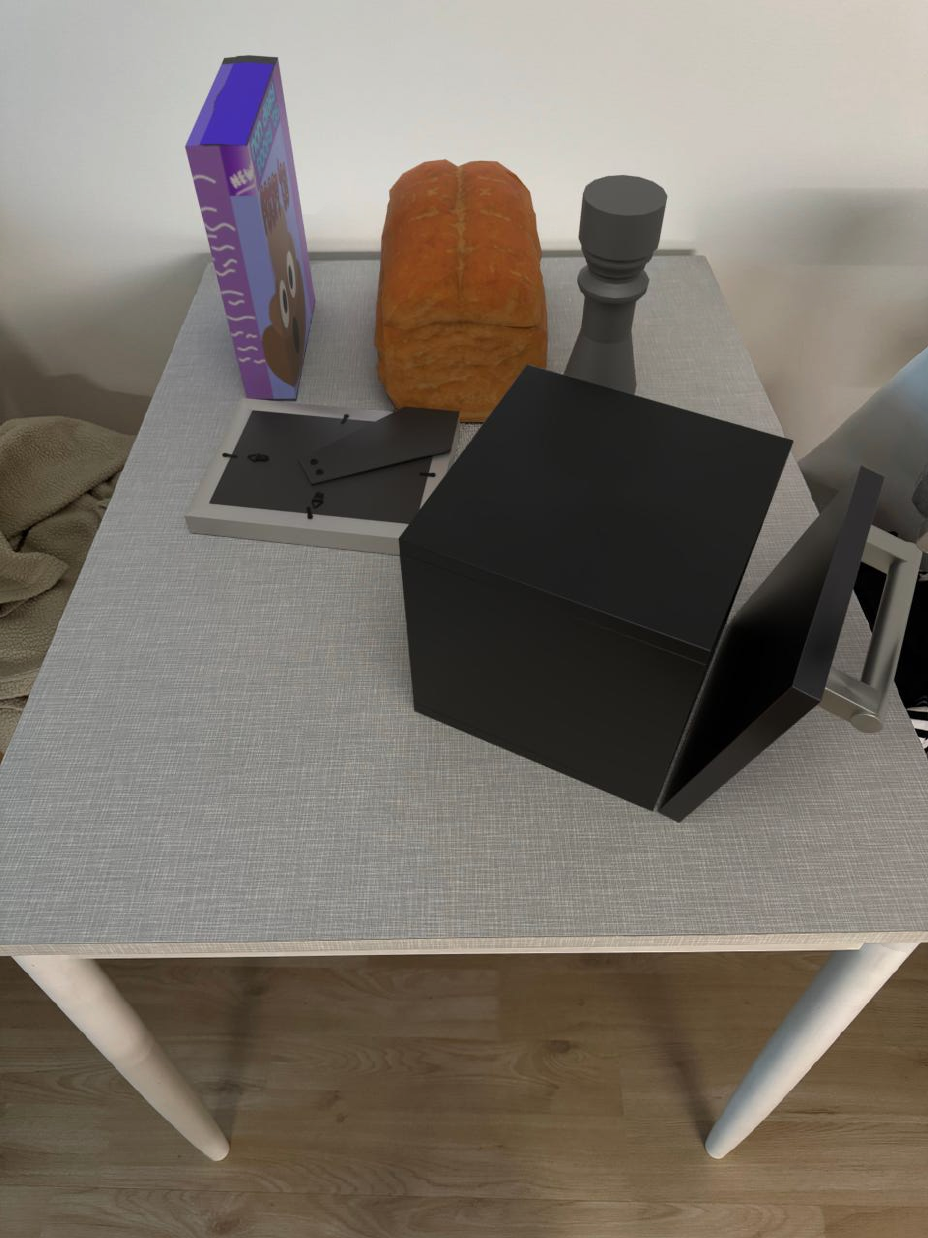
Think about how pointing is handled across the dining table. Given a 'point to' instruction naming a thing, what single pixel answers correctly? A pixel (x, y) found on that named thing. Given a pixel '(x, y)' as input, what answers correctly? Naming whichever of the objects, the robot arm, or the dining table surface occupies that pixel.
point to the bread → (459, 288)
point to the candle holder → (614, 275)
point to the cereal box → (255, 223)
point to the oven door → (799, 647)
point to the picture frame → (323, 474)
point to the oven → (583, 575)
